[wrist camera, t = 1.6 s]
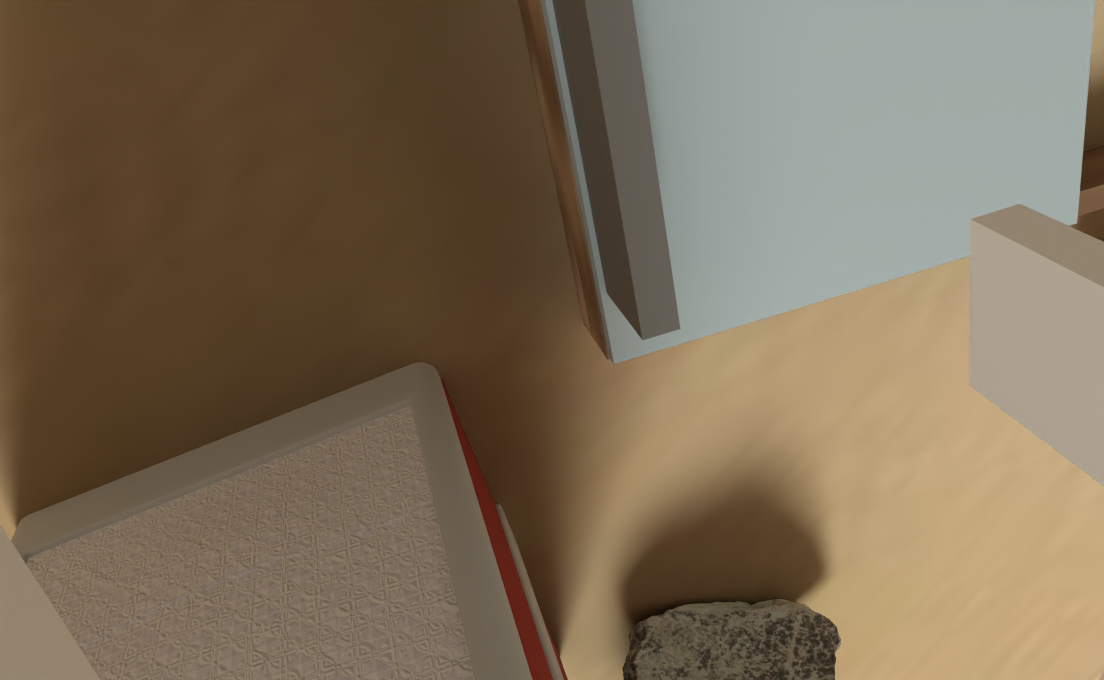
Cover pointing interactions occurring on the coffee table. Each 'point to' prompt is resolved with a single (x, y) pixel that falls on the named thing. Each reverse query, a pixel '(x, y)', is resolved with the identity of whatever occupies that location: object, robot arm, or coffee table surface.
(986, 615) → the coffee table surface
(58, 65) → the coffee table surface
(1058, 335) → the robot arm
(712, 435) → the coffee table surface
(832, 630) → the stone
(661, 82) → the lid
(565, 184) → the brown wooden frame
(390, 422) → the red striped arch block
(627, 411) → the coffee table surface
